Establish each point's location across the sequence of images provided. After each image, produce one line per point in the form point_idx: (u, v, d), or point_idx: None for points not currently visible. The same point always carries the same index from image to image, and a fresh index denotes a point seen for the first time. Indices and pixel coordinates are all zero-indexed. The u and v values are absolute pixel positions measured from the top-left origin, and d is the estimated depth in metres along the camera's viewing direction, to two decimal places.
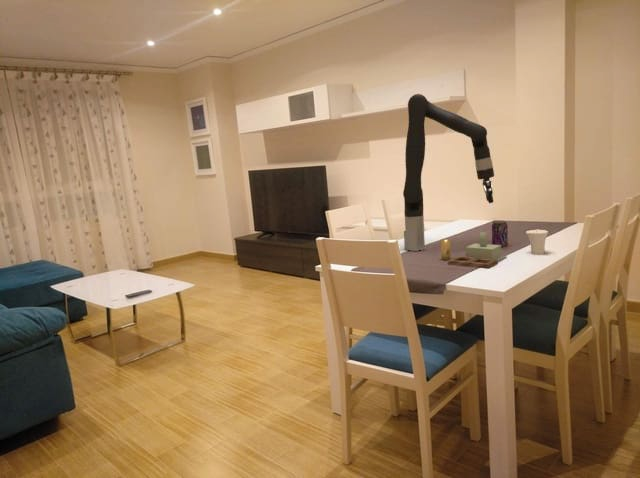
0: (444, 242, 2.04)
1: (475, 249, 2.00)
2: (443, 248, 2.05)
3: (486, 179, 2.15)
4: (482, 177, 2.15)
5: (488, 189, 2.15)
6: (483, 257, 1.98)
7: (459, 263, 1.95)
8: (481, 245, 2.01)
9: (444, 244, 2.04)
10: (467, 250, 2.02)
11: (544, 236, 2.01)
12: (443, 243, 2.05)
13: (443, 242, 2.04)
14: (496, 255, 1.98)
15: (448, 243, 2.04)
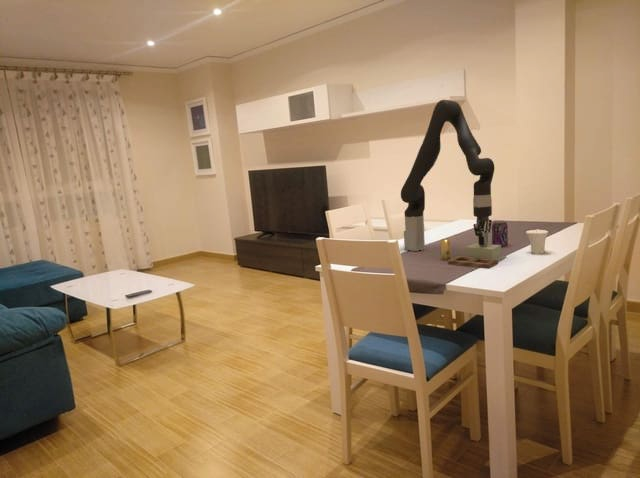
0: (444, 242, 2.04)
1: (475, 249, 2.00)
2: (443, 248, 2.05)
3: (478, 218, 1.97)
4: (475, 214, 1.98)
5: None
6: (483, 257, 1.98)
7: (459, 263, 1.95)
8: (481, 245, 2.01)
9: (444, 244, 2.04)
10: (467, 250, 2.03)
11: (544, 236, 2.01)
12: (443, 243, 2.05)
13: (443, 242, 2.04)
14: (496, 255, 1.98)
15: (448, 243, 2.04)
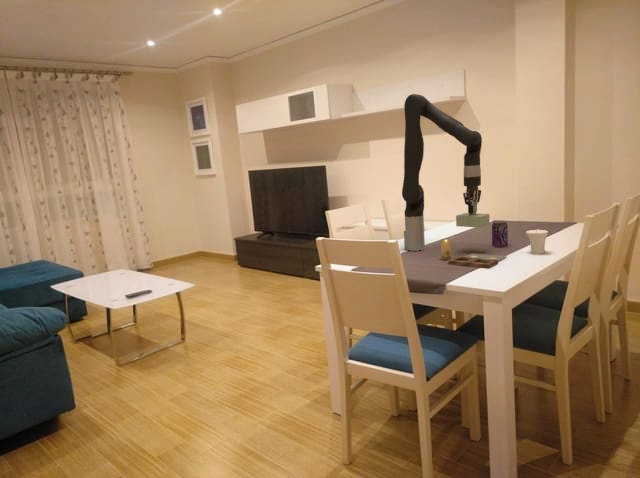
0: (444, 242, 2.04)
1: (465, 217, 2.12)
2: (443, 248, 2.05)
3: (468, 187, 2.09)
4: (465, 184, 2.10)
5: None
6: (472, 224, 2.10)
7: (459, 263, 1.95)
8: None
9: (444, 244, 2.04)
10: (458, 218, 2.14)
11: (544, 236, 2.01)
12: (443, 242, 2.05)
13: (443, 242, 2.04)
14: (484, 222, 2.10)
15: (448, 243, 2.04)
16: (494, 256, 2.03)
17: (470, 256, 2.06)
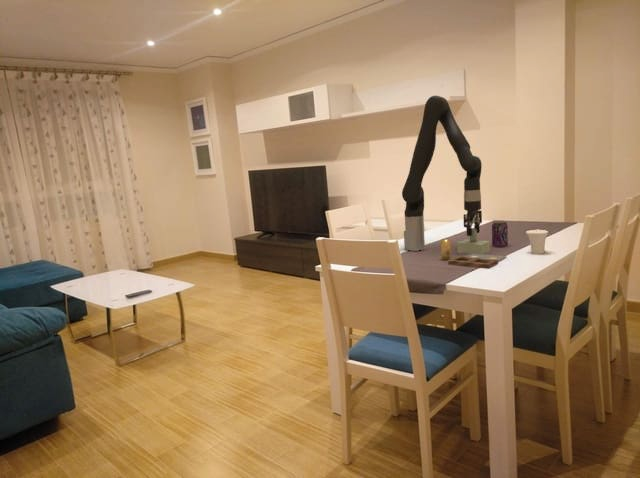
0: (444, 242, 2.04)
1: (466, 244, 2.15)
2: (443, 248, 2.05)
3: (468, 211, 2.12)
4: (465, 208, 2.13)
5: None
6: (473, 252, 2.13)
7: (459, 263, 1.95)
8: (471, 241, 2.16)
9: (444, 244, 2.04)
10: (459, 246, 2.18)
11: (544, 236, 2.01)
12: (443, 243, 2.04)
13: (443, 242, 2.04)
14: (485, 250, 2.13)
15: (448, 243, 2.04)
16: (494, 256, 2.03)
17: (470, 256, 2.06)
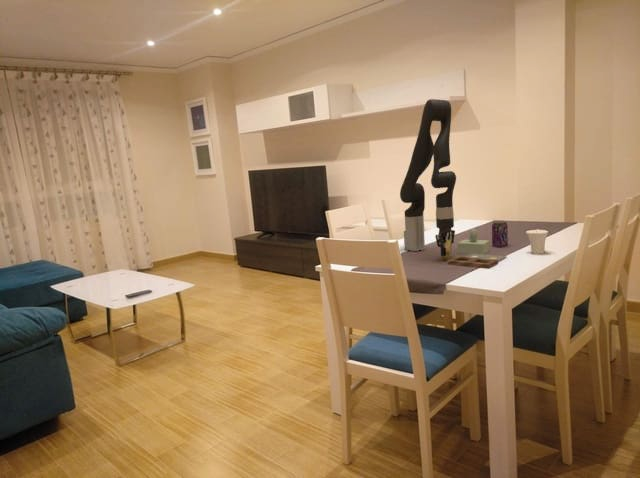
0: (443, 242, 2.04)
1: (467, 245, 2.15)
2: None
3: (440, 229, 2.02)
4: (437, 226, 2.03)
5: None
6: (474, 252, 2.13)
7: (459, 263, 1.95)
8: (472, 241, 2.16)
9: None
10: (459, 246, 2.17)
11: (544, 236, 2.01)
12: None
13: (443, 242, 2.05)
14: (486, 249, 2.14)
15: (448, 243, 2.04)
16: (494, 256, 2.03)
17: (470, 256, 2.06)
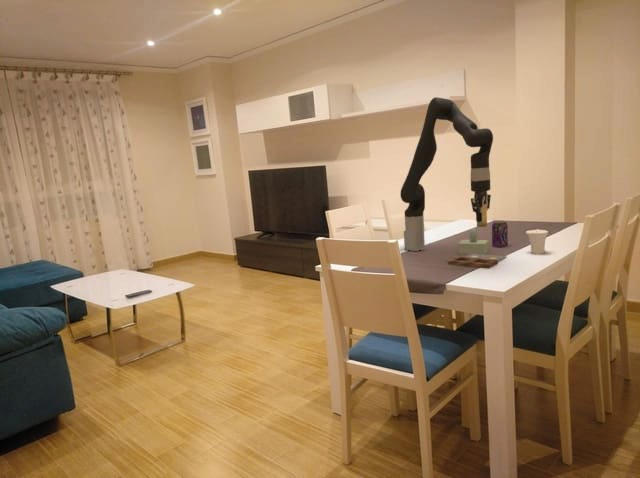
0: (479, 207, 1.87)
1: (468, 245, 2.14)
2: None
3: (476, 192, 1.85)
4: (472, 189, 1.86)
5: None
6: (476, 252, 2.13)
7: (459, 263, 1.95)
8: (472, 241, 2.16)
9: None
10: (460, 246, 2.16)
11: (544, 236, 2.01)
12: None
13: None
14: (486, 249, 2.14)
15: (484, 208, 1.87)
16: (494, 256, 2.03)
17: (470, 256, 2.06)
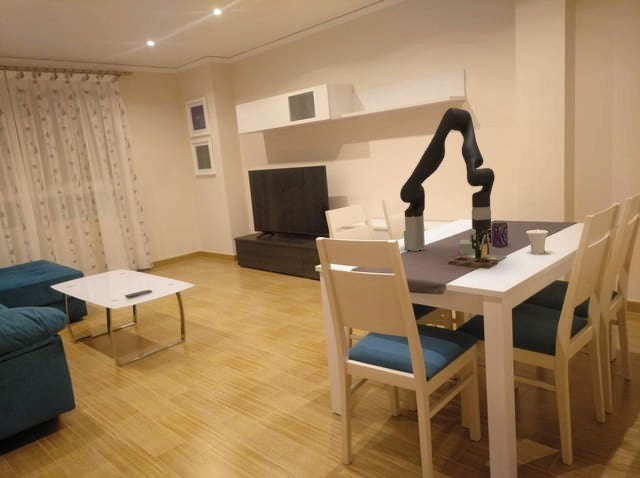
0: None
1: (469, 245, 2.14)
2: None
3: (477, 231, 1.88)
4: (473, 227, 1.89)
5: None
6: None
7: (459, 263, 1.95)
8: None
9: None
10: (461, 246, 2.15)
11: (544, 236, 2.01)
12: None
13: None
14: None
15: (485, 248, 1.89)
16: (494, 256, 2.03)
17: (470, 256, 2.06)
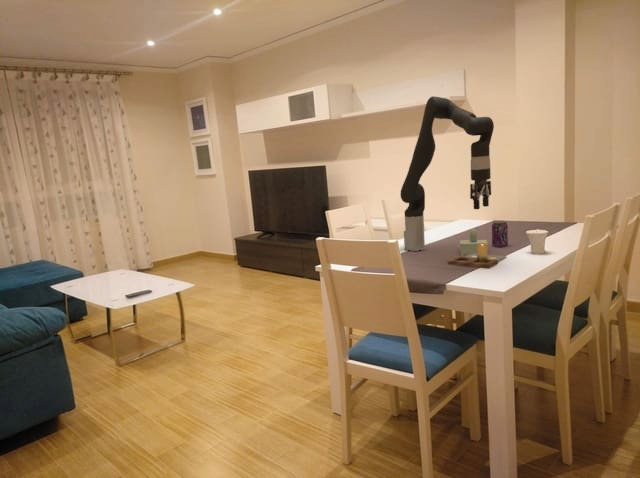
0: (480, 246, 1.90)
1: (470, 245, 2.13)
2: (479, 253, 1.91)
3: (476, 181, 1.84)
4: (472, 178, 1.85)
5: None
6: None
7: (459, 263, 1.95)
8: (473, 241, 2.16)
9: (480, 249, 1.90)
10: (462, 247, 2.15)
11: (544, 236, 2.01)
12: (479, 247, 1.90)
13: (479, 246, 1.90)
14: None
15: (485, 248, 1.89)
16: (494, 256, 2.03)
17: (470, 256, 2.06)
